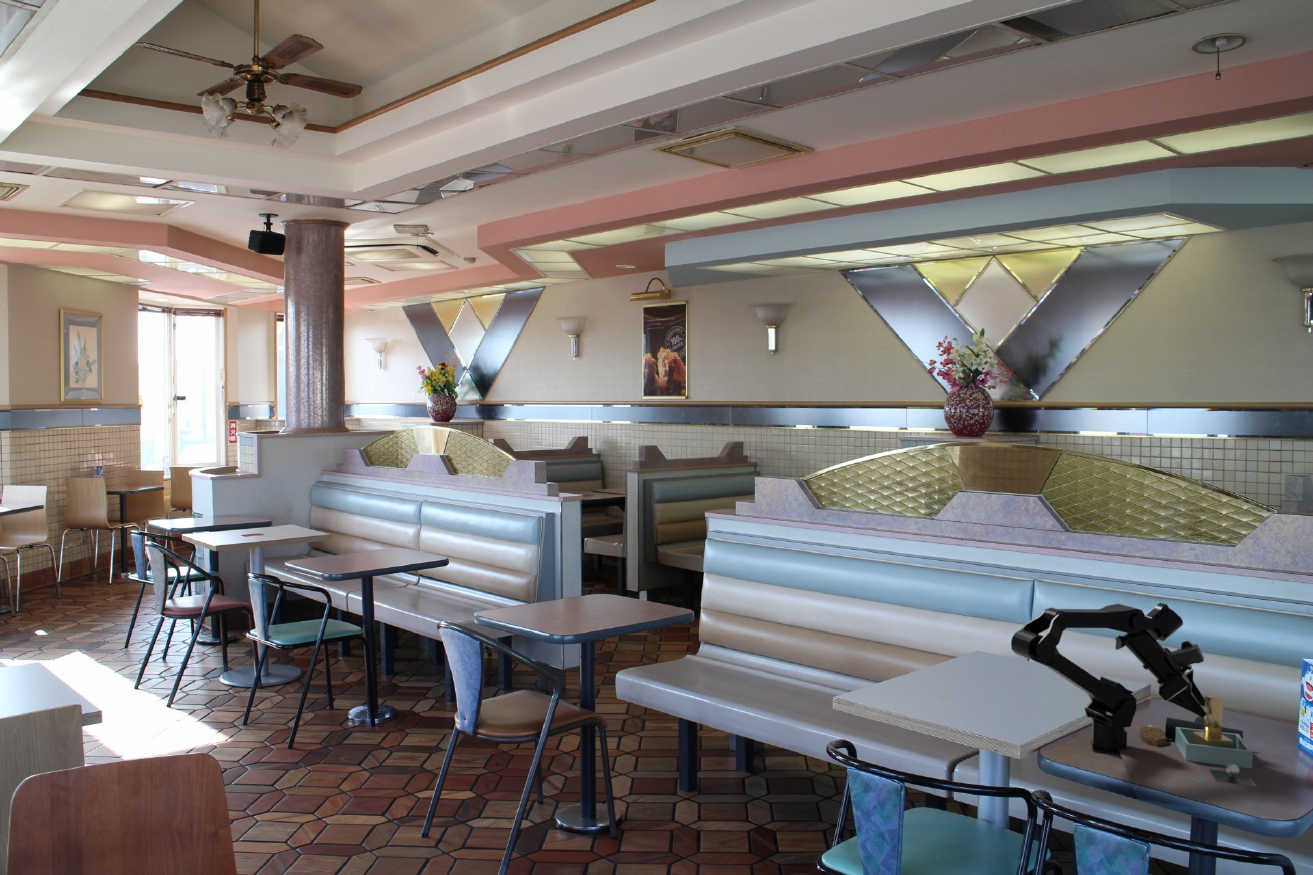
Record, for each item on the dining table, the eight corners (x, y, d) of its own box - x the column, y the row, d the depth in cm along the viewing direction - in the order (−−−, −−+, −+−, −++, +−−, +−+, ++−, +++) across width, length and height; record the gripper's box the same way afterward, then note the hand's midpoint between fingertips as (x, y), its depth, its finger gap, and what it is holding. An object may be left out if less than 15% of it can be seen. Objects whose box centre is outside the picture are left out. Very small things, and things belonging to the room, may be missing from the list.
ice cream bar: (1134, 726, 227) (1137, 745, 214) (1144, 711, 226) (1149, 730, 213) (1155, 740, 226) (1160, 760, 212) (1166, 725, 225) (1172, 744, 211)
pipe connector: (1172, 707, 228) (1245, 719, 220) (1171, 728, 229) (1244, 742, 220) (1165, 719, 219) (1241, 733, 210) (1164, 742, 219) (1240, 756, 211)
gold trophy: (1206, 760, 204) (1208, 700, 204) (1192, 751, 210) (1193, 693, 210) (1232, 761, 204) (1234, 701, 204) (1217, 752, 210) (1219, 694, 210)
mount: (1216, 786, 191) (1217, 767, 191) (1209, 774, 198) (1209, 756, 198) (1256, 791, 189) (1257, 772, 189) (1247, 779, 196) (1248, 760, 196)
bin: (1185, 764, 203) (1186, 743, 203) (1175, 746, 215) (1175, 726, 215) (1252, 773, 199) (1252, 751, 199) (1237, 754, 211) (1238, 733, 211)
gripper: (1178, 639, 202) (1237, 699, 196) (1181, 623, 218) (1236, 679, 212) (1135, 670, 206) (1192, 729, 201) (1142, 652, 222) (1195, 707, 217)
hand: (1205, 710), depth 207 cm, fingers open, 9 cm apart
